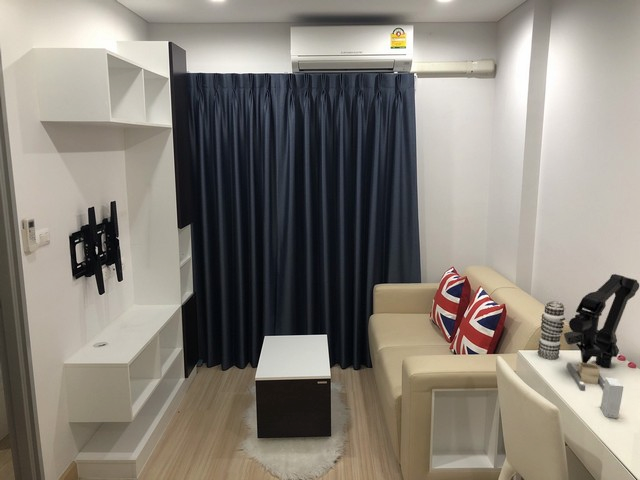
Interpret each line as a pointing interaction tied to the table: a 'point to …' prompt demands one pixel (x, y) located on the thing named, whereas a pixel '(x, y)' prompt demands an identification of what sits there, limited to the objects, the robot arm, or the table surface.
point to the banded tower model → (551, 330)
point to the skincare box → (611, 397)
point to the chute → (578, 379)
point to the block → (588, 372)
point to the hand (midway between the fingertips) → (583, 363)
